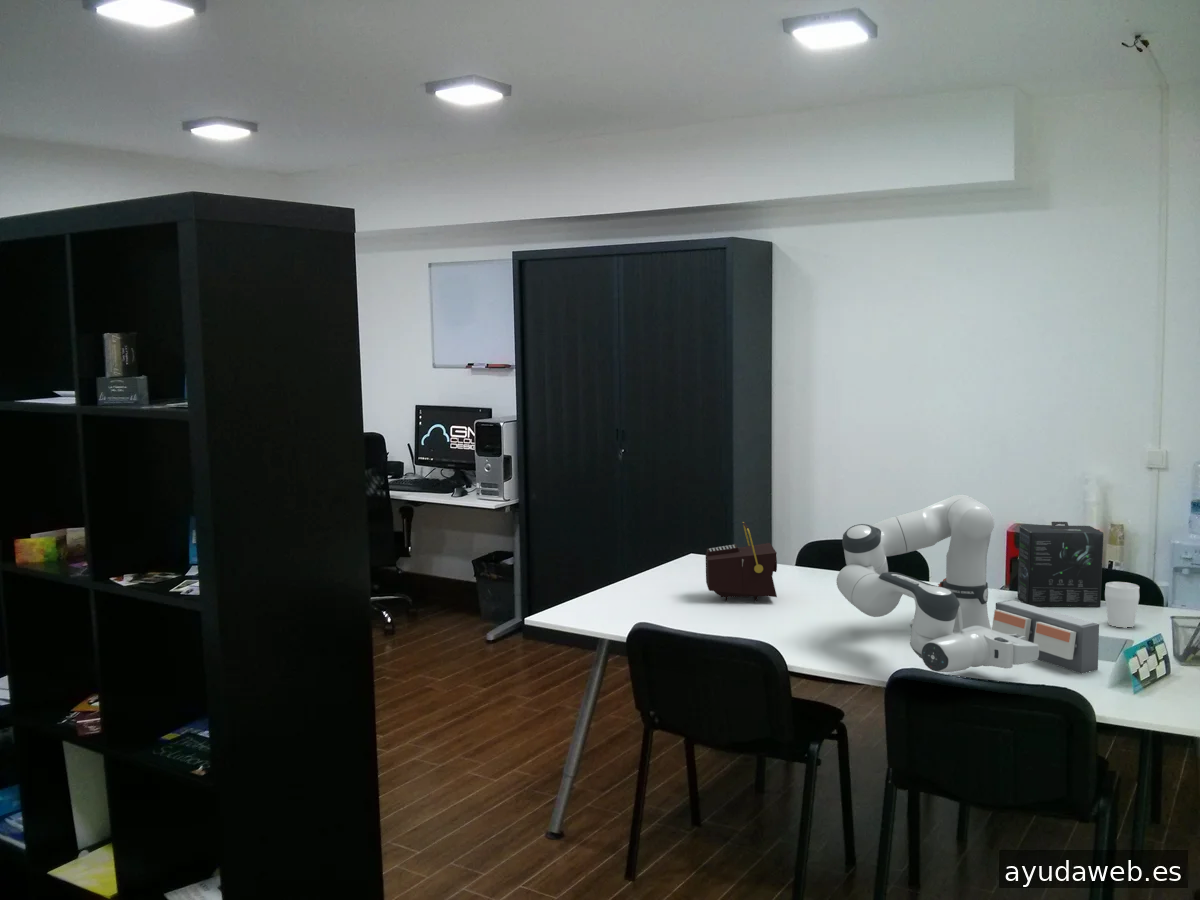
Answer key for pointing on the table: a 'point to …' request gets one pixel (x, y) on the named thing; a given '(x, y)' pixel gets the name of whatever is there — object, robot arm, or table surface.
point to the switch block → (1085, 630)
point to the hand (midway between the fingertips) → (1021, 638)
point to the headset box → (1060, 565)
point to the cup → (1121, 603)
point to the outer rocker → (1055, 640)
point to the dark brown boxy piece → (741, 570)
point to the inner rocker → (1011, 624)
